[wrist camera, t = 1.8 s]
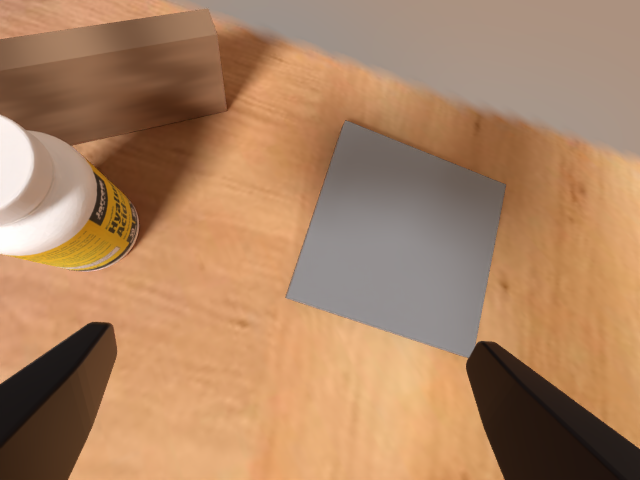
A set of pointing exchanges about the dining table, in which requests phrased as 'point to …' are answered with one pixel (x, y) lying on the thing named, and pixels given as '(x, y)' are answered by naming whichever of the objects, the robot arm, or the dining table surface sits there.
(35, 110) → the walnut screen
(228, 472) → the dining table surface
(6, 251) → the supplement bottle
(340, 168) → the grey mat
